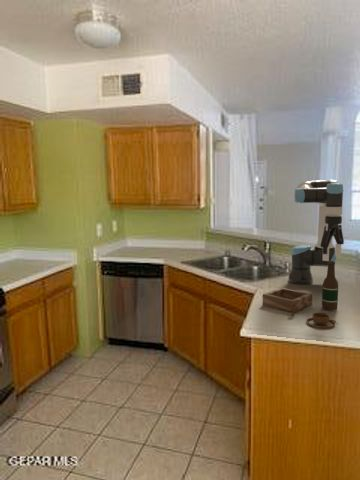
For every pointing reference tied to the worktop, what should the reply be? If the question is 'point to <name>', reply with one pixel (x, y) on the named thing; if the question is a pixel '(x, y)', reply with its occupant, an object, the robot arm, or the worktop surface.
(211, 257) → the worktop surface
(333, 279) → the beer bottle
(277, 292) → the caddy
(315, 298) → the worktop surface
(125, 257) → the worktop surface
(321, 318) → the brown cup and saucer
